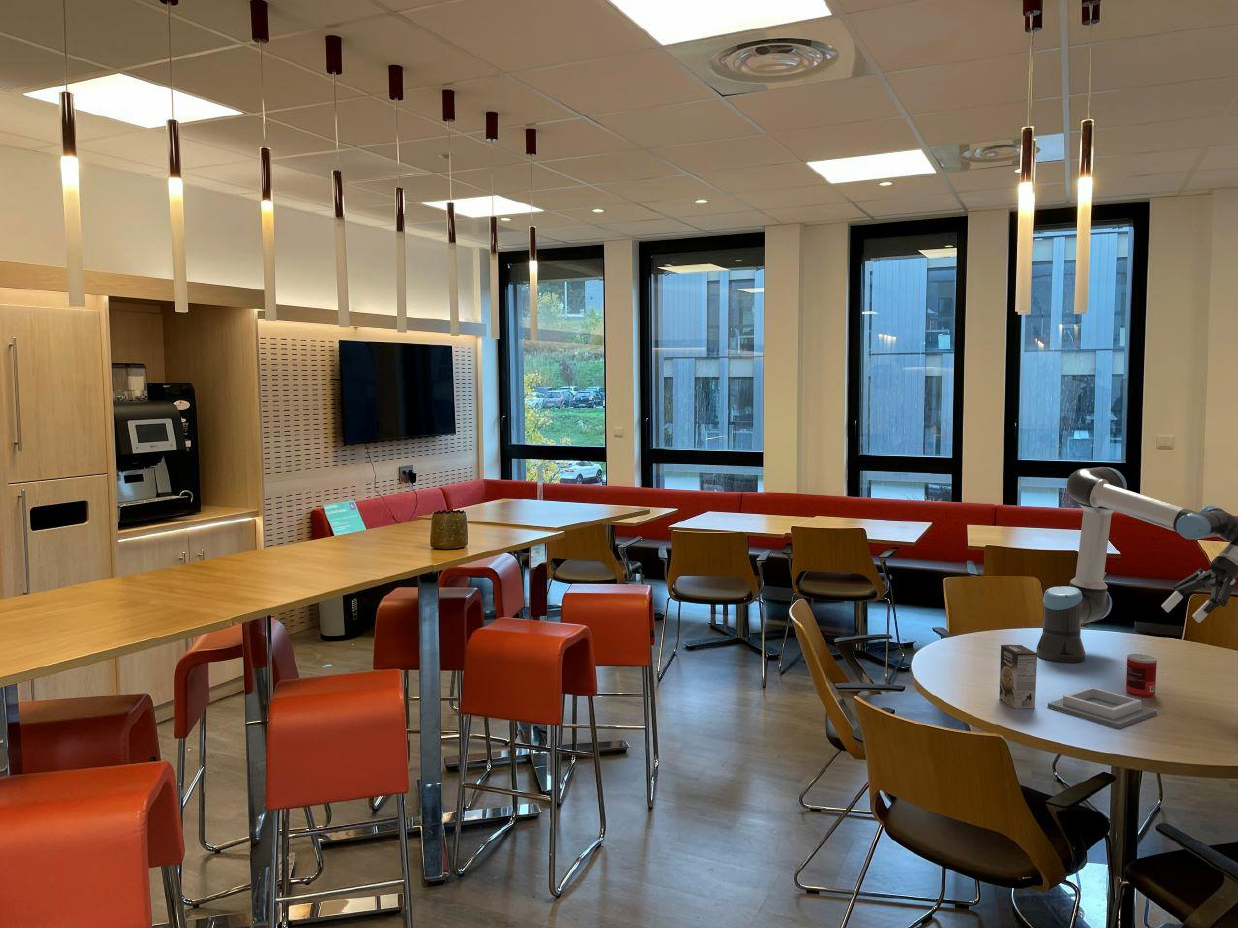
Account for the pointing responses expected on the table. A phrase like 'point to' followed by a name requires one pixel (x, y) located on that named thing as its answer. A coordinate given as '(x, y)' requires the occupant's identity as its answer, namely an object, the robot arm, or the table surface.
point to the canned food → (1141, 675)
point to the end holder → (1103, 707)
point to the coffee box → (1018, 676)
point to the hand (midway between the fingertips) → (1179, 614)
